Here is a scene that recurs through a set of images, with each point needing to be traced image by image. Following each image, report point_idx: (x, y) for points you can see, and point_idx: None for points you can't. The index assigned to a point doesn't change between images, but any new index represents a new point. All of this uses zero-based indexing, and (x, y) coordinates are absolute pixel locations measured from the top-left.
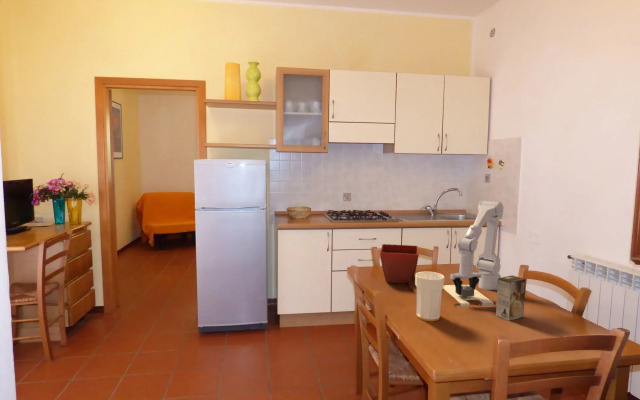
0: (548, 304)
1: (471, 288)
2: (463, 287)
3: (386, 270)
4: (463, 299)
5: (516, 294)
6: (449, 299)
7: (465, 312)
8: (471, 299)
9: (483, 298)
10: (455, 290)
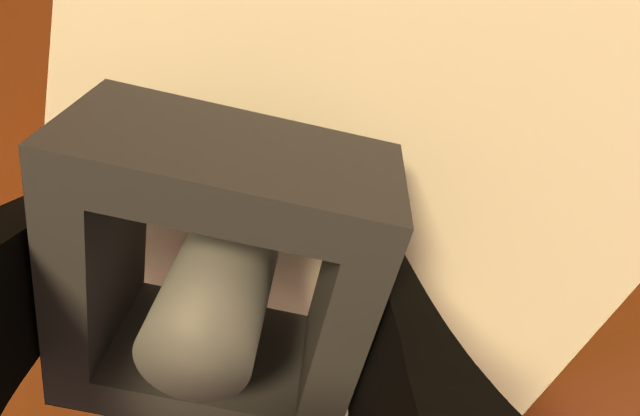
0: None
1: (328, 402)
2: (137, 349)
3: None
4: (162, 261)
5: None
6: (27, 31)
7: (29, 412)
8: (289, 305)
9: (504, 344)
10: (84, 95)
